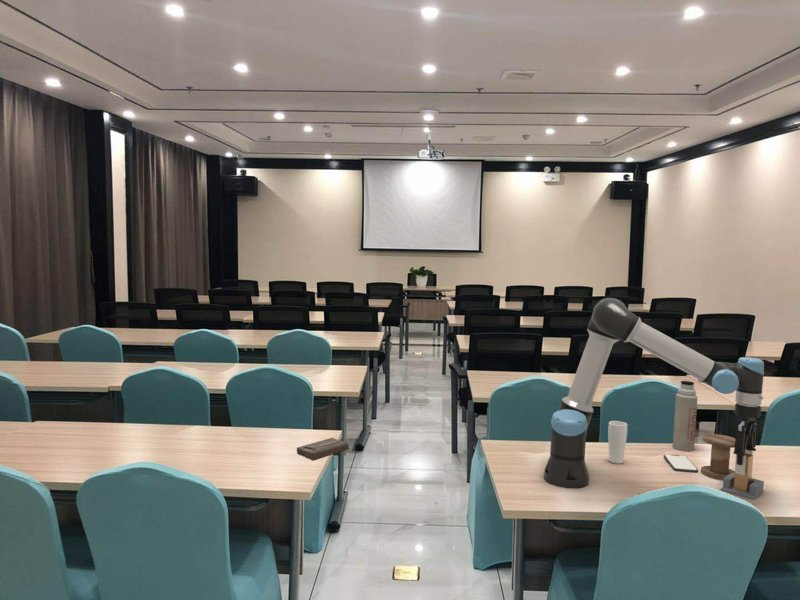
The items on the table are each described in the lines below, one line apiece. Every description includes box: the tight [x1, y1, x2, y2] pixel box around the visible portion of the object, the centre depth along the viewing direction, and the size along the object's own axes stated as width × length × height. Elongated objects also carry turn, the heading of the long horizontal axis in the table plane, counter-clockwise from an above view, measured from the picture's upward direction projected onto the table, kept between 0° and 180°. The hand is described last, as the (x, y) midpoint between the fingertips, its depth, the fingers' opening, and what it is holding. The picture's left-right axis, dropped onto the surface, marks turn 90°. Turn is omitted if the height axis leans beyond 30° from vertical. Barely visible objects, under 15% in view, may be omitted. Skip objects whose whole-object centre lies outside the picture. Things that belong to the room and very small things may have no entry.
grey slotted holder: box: [720, 473, 765, 500], centre depth 203 cm, size 10×10×4 cm
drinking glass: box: [607, 420, 628, 465], centre depth 229 cm, size 7×7×15 cm
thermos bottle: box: [672, 380, 698, 453], centre depth 247 cm, size 8×8×28 cm
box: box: [296, 437, 350, 462], centre depth 231 cm, size 11×17×3 cm, turn 135°
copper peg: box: [734, 453, 754, 492], centre depth 203 cm, size 4×4×12 cm
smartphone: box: [663, 454, 699, 474], centre depth 228 cm, size 9×2×16 cm
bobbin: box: [700, 433, 736, 481], centre depth 218 cm, size 12×12×13 cm
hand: (743, 471), depth 203 cm, fingers open, 6 cm apart
